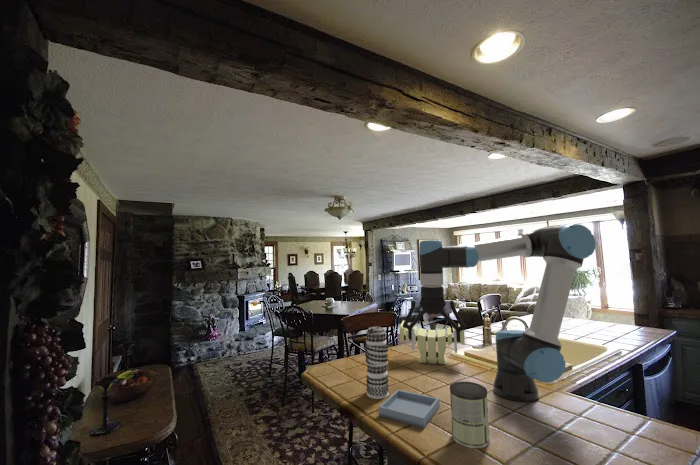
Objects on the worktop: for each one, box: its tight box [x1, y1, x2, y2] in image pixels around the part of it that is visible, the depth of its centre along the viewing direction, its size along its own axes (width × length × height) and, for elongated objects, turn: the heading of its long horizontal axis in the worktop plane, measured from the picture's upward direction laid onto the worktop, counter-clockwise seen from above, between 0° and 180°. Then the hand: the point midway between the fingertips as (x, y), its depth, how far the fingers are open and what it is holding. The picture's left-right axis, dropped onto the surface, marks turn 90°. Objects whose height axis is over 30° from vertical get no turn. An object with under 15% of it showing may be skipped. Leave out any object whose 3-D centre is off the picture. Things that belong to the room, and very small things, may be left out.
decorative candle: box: [364, 326, 390, 400], centre depth 126 cm, size 9×9×25 cm
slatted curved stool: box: [399, 319, 466, 365], centre depth 163 cm, size 30×16×18 cm, turn 74°
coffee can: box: [449, 380, 490, 449], centre depth 94 cm, size 10×10×14 cm
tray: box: [378, 389, 441, 429], centre depth 110 cm, size 16×16×3 cm
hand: (434, 350), depth 108 cm, fingers open, 13 cm apart
